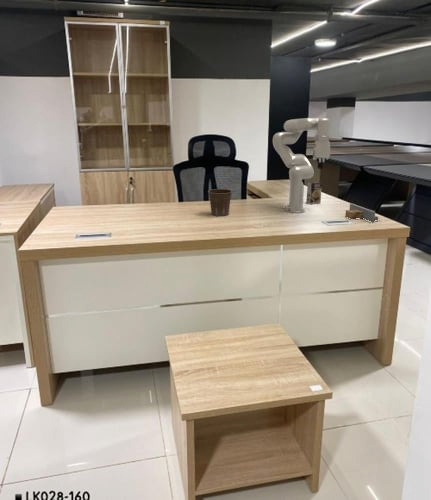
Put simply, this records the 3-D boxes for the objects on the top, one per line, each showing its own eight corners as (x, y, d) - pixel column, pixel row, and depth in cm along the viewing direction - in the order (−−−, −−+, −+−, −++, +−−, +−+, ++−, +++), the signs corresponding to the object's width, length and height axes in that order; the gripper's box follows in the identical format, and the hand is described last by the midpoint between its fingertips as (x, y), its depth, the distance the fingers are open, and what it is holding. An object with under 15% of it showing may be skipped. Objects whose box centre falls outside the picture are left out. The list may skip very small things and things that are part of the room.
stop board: (371, 222, 268) (372, 211, 266) (349, 213, 292) (350, 203, 290) (379, 222, 269) (380, 211, 267) (356, 213, 293) (357, 203, 291)
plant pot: (229, 217, 281) (230, 193, 277) (206, 216, 285) (205, 192, 280) (233, 212, 297) (234, 189, 292) (211, 211, 300) (211, 188, 295)
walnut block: (350, 220, 276) (351, 212, 274) (345, 217, 282) (345, 210, 280) (361, 219, 277) (362, 211, 276) (355, 216, 284) (356, 209, 282)
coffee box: (310, 204, 322) (312, 183, 317) (305, 203, 327) (307, 182, 322) (320, 203, 325) (322, 182, 320) (315, 202, 331) (317, 181, 326)
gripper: (314, 139, 260) (312, 169, 266) (336, 139, 264) (333, 169, 269) (308, 138, 267) (306, 168, 273) (330, 138, 271) (327, 167, 276)
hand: (320, 168), depth 271 cm, fingers closed
